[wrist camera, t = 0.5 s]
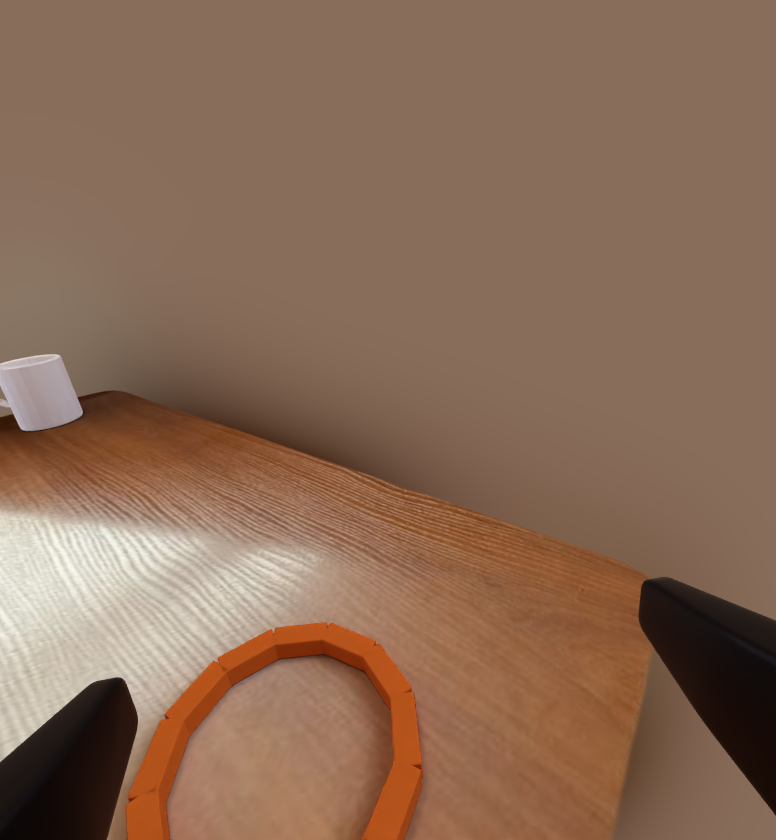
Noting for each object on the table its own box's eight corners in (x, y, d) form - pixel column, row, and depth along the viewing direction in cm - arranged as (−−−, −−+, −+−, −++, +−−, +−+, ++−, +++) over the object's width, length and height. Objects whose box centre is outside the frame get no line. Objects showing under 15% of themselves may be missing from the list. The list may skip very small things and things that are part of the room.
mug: (10, 420, 67) (-18, 362, 63) (91, 408, 70) (68, 351, 66) (-22, 440, 60) (-55, 375, 56) (70, 425, 63) (44, 363, 59)
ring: (443, 948, 13) (442, 933, 13) (62, 996, 13) (47, 982, 13) (406, 627, 25) (404, 613, 24) (201, 649, 25) (196, 635, 24)
